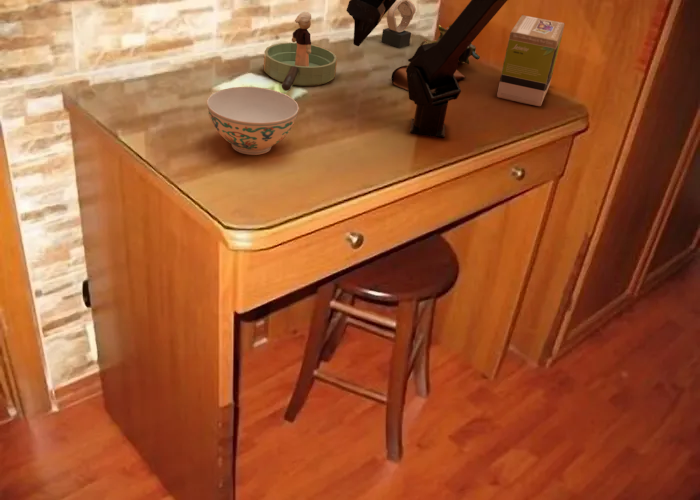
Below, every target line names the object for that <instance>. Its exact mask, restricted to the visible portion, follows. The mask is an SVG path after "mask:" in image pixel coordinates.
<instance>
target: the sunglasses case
mask: <svg viewBox="0 0 700 500" xmlns="http://www.w3.org/2000/svg"><path fill="white" fill-rule="evenodd" d="M407 66H408V64H405V65H401V66H399V67H397V68H395V69H394V70H393V71H392V73H391V78H390V79H391V82H392V84H393V85H394V86H395V87H398V88H400V89H402V90H405V91H407V92H408V83H407V73H406V69H407ZM454 76H455V78H456V80H457V82H458V81H460V80H464V79H465V78H466V76H465V75H463V73H461V72H460V71H459V70H458V69H457V70H456V71H455V73H454ZM433 89H435V88H433ZM433 89H432V90H433Z"/></svg>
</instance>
